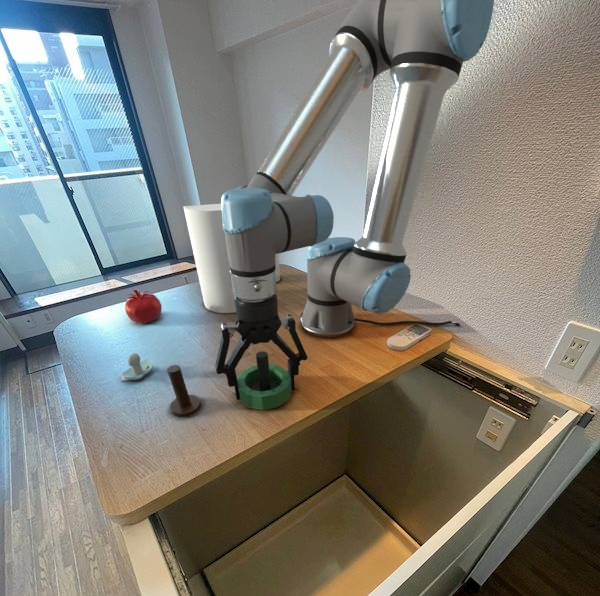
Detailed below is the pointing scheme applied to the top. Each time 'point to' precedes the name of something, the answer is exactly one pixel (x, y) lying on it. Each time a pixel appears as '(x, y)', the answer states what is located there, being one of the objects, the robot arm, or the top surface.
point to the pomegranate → (143, 307)
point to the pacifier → (136, 368)
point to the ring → (266, 397)
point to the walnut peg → (181, 395)
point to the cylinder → (211, 256)
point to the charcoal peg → (263, 373)
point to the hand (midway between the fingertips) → (265, 391)
